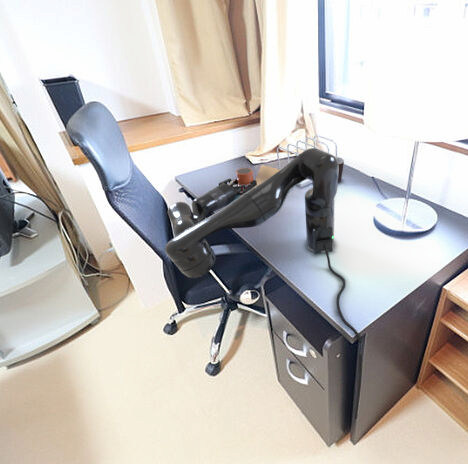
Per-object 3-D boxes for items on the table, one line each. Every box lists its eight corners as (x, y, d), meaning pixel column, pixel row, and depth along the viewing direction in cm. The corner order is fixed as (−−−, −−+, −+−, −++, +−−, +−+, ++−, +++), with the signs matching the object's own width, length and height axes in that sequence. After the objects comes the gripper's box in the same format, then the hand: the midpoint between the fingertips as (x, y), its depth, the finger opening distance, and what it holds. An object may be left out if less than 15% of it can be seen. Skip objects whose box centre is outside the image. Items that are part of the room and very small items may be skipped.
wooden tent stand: (272, 198, 136) (270, 177, 131) (251, 191, 141) (248, 171, 136) (285, 189, 143) (284, 169, 137) (265, 183, 148) (262, 164, 142)
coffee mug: (346, 179, 150) (347, 159, 144) (337, 186, 144) (338, 165, 138) (325, 173, 155) (325, 154, 149) (316, 180, 149) (315, 160, 143)
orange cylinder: (254, 202, 131) (237, 192, 121) (242, 198, 134) (225, 188, 124) (265, 177, 132) (249, 165, 122) (253, 173, 135) (236, 161, 125)
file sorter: (315, 161, 168) (314, 132, 159) (339, 171, 157) (340, 140, 148) (277, 176, 154) (274, 145, 145) (300, 188, 144) (299, 155, 135)
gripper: (207, 201, 123) (237, 184, 134) (235, 211, 117) (264, 192, 128) (203, 183, 119) (234, 168, 130) (231, 192, 112) (262, 175, 124)
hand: (249, 180), depth 129 cm, fingers closed on orange cylinder, 6 cm apart
